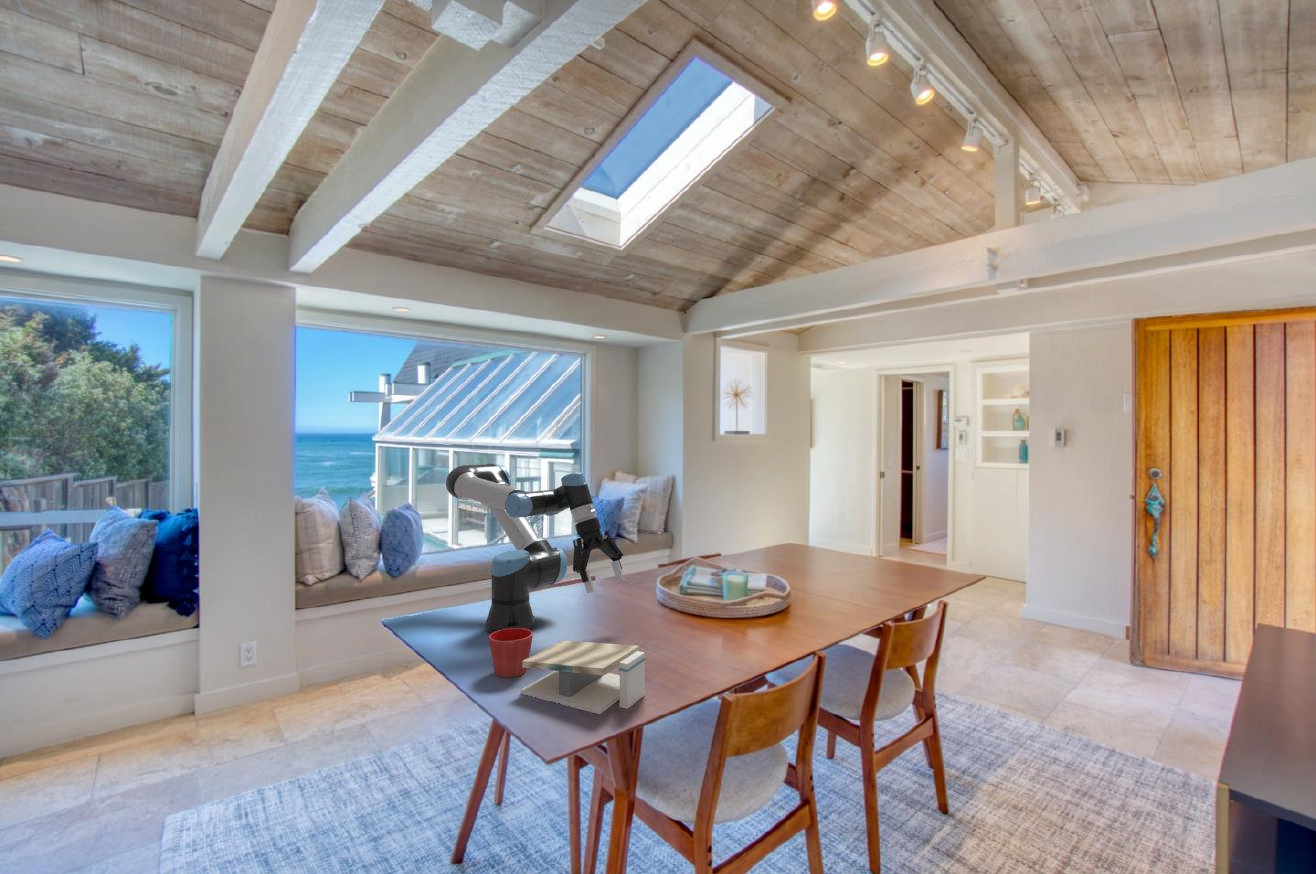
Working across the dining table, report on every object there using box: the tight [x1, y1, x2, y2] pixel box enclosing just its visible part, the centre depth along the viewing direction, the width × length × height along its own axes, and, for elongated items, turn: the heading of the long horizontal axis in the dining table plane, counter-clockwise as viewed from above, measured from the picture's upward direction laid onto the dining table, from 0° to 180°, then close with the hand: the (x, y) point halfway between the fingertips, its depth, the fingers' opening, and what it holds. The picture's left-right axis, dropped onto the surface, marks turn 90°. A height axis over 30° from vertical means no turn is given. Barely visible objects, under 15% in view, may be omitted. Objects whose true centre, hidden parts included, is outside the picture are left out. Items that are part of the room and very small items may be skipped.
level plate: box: [522, 639, 641, 675], centre depth 143 cm, size 23×16×2 cm
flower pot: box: [488, 628, 534, 678], centre depth 153 cm, size 11×11×10 cm
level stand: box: [520, 650, 646, 715], centre depth 142 cm, size 26×18×10 cm
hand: (606, 586), depth 182 cm, fingers open, 13 cm apart
